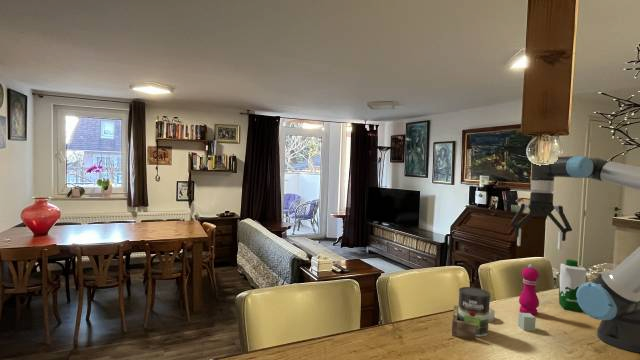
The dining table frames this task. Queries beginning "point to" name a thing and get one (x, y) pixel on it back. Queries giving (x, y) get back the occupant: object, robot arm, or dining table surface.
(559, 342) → the dining table surface
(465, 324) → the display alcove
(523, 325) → the sage block
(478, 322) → the coffee can
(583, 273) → the milk carton
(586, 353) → the dining table surface
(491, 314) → the white glossy round part
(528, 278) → the pepper mill
